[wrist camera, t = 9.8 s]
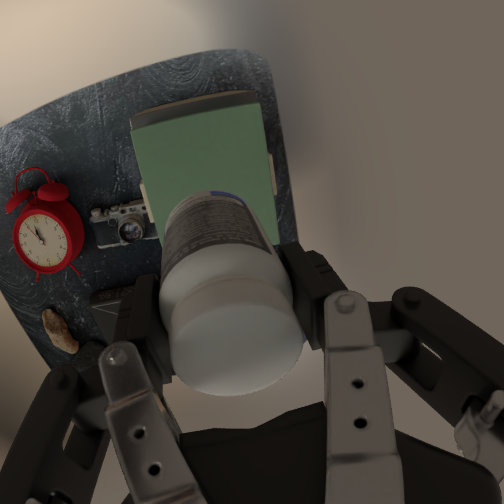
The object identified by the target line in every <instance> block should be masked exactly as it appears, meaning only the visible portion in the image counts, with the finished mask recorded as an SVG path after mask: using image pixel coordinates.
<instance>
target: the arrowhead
mask: <svg viewBox="0 0 504 504" xmlns="http://www.w3.org/2000/svg"><path fill="white" fill-rule="evenodd" d="M104 349H105V347H104V346H103V345H102V344H100V343H97V342H95V341H90V342H87V343H86V344H85V345H84V346H83V347H82V348H81V349H80V350H79V351H78V352H77V354H76V355H75V356H74V358H73V360H72V361H71V363H70V364H69V365H72V366H73V367H75V368H85V367H94V366H96V365H97V364H98V358H99V356H100V354H101V352H102V351H103V350H104Z"/></svg>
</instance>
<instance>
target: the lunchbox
mask: <svg viewBox="0 0 504 504" xmlns="http://www.w3.org/2000/svg"><path fill="white" fill-rule="evenodd" d="M130 133H131V137H132V142H133V146H134V150H135V154H136V158H137V161H138V165H139V169H140V173H141V177H142V180H141V183H140V188H141V191H142V195H143V198H144V202H145V205H146V209H147V212H148V216H149V219H150V222H151V223H153V222H154V223H155V226H156V229H157V232H158V236H159V239H160V242H161V245H162V248H163V241H164V231H165V226H166V222H167V220H168V217H169V215H170V213H171V212H172V211H173V209H174V208H175V207H176V206H177V205H178V204H179V203H180V202H181V201H182V200H183V199H185V198H186V197H188V196H190V195H191V194H193V193H196V192H199V191H203V190H212V189H215V190H224V191H227V192H230V193H233V194H235V195H237V196H239V197H240V198H241V199H243V200H244V201H245V202H246V203H247V204H248V205H249V206H250V207H251V209H252V210H253V212H254V213H255V214H256V216H257V218H258V220H259V222H260V224H261V226H262V227H263V229H264V231H265V233H266V235H267V237H268V239H269V241H270V243H271V244H272V245H276V244H280V241H279V233H278V225H277V217H276V209H275V202H274V195H277V189H276V181H275V174H274V167H273V159H272V155H271V154H270V153H269V152H268V151H267V144H266V137H265V131H264V124H263V117H262V111H261V104H260V103H259V102H254V103H248V104H242V105H236V106H230V107H224V108H219V109H214V110H209V111H204V112H199V113H195V114H190V115H185V116H181V117H177V118H173V119H168V120H164V121H160V122H157V123H153V124H149V125H145V126H141V127H138V128H134V129H132V130H131V131H130Z"/></svg>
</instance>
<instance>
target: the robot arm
mask: <svg viewBox="0 0 504 504" xmlns="http://www.w3.org/2000/svg"><path fill="white" fill-rule="evenodd" d="M278 251H279V259H280V261H281V263H282V264H283V266H284V267H285V269H286V271H287V273H288V274H289V278H290V281H291V285H292V290H293V305H292V308H293V310H294V312H295V314H296V316H297V318H298V321H299V323H300V325H301V327H302V329H303V331H304V333H305V335H306V338H307V340H308V342H309V344H310V346H311V348H312V350H317V349H320V348H321V349H322V351H323V352H324V403H323V401H321V402H318V403H315V404H311V405H308V406H305V407H301V408H298V409H294V410H291V411H288V412H285V413H284V414H282V415H280V416H278V417H276V418H274V419H272V420H270V421H268V422H266V423H264V424H262V425H260V426H257V427H255V428H251V429H225V428H212V429H207V430H200V431H195V432H188V433H182V431H181V429H180V427H179V426H178V423H177V422H176V419H175V417H174V415H173V413H172V411H171V410H170V407H169V405H168V403H167V401H166V399H165V397H164V396H163V384H168V383H172V374H171V360H170V349H169V338H168V332H167V330H166V328H165V326H164V324H163V322H162V319H161V316H160V310H159V290H160V282H159V279H158V277H157V275H156V273H153V274H148V275H144V276H140V277H137V279H136V284H135V289H134V291H131V292H127V293H126V295H125V296H124V297H123V299H122V300H121V302H120V307H119V312H118V316H117V319H118V320H117V321H116V326H115V331H114V336H113V342H112V344H111V345H109V346H107V347H106V348H105V349H104V350H103V351H102V352H101V354H100V356H99V358H98V364H97V365H96V366H94V367H91V368H89V369H87V370H84V371H82V372H80V373H78V371H77V370H76V369H75V367H73V366H72V365H67V364H65V365H60V366H58V367H56V368H54V369H53V370H51V371H50V372H49V373H48V375H47V376H46V378H45V379H44V381H43V383H42V385H41V387H40V389H39V391H38V392H37V394H36V396H35V398H34V400H33V402H32V404H31V406H30V408H29V410H28V412H27V414H26V416H25V418H24V420H23V422H22V424H21V426H20V428H19V431H18V433H17V435H16V437H15V439H14V441H13V443H12V446H11V448H10V450H9V452H8V455H7V457H6V459H5V462H4V464H3V466H2V469H1V471H0V504H90V502H91V499H92V495H93V492H94V489H95V486H96V483H97V479H98V476H99V473H100V470H101V467H102V463H103V460H104V457H105V454H106V451H107V448H108V445H109V442H110V439H112V442H113V445H114V448H115V451H116V455H117V458H118V460H119V463H120V466H121V469H122V472H123V474H124V477H125V480H126V483H127V485H128V488H129V490H130V493H129V494H128V495H127V497H126V498H125V499H124V501H123V502H122V503H121V504H502V503H501V502H502V496H501V490H500V487H499V483H500V482H501V481H502V480H503V478H504V345H503V344H502V343H500V342H499V341H497V340H496V339H495V338H493V337H492V336H490V335H489V334H488V333H486V332H485V331H483V330H482V329H481V328H479V327H478V326H476V325H475V324H473V323H472V322H471V321H469V320H468V319H466V318H465V317H463V316H462V315H461V314H459V313H458V312H456V311H455V310H453V309H452V308H450V307H449V306H447V305H446V304H444V303H443V302H441V301H440V300H438V299H437V298H435V297H434V296H432V295H431V294H429V293H428V292H426V291H424V290H423V289H420V288H417V287H403V288H400V289H398V290H396V291H395V292H394V294H393V296H392V301H384V302H368V301H367V300H366V298H365V297H364V296H363V295H361V294H360V293H358V292H355V291H349V290H348V289H347V287H346V286H345V284H344V283H343V282H342V280H341V279H340V278H339V276H338V275H337V274H336V272H335V271H333V268H332V267H331V266H330V265H329V264H328V262H327V260H326V259H325V258H324V256H323V255H321V254H319V253H317V252H315V251H314V250H312V251H307V252H305V251H304V250H303V248H302V247H301V245H300V244H299V242H298V241H294V242H290V243H286V244H281V245H279V246H278ZM422 343H424V344H425V345H427V346H428V347H429V348H430V349H432V350H433V351H434V352H435V353H437V354H438V355H439V356H440V357H441V359H442V360H441V359H439V358H438V357H437V356H436V355H435V354H433V353H432V352H431V351H429V350H428V349H427V348H426V347H424V346H423V345H422ZM385 365H386V366H387V367H388V368H389V369H391V370H392V371H393V372H394V373H395V374H396V375H397V376H398V377H399V378H400V379H401V380H403V381H404V382H405V383H406V384H407V385H408V386H409V387H410V388H411V389H412V390H413V391H415V392H416V393H417V394H418V395H419V396H420V397H421V398H422V399H423V400H424V401H426V402H427V403H428V404H429V405H430V406H431V407H432V408H433V409H434V410H436V411H437V412H438V413H439V414H440V415H441V416H442V417H443V418H444V419H445V420H446V421H447V422H449V423H450V424H451V425H452V426H453V427H454V428H455V430H454V437H455V441H456V443H457V448H458V450H459V451H461V452H463V454H464V457H461V456H458V455H456V454H453V453H450V452H448V451H445V450H443V449H440V448H438V447H435V446H433V445H431V444H428V443H426V442H423V441H421V440H419V439H416V438H414V437H412V436H409V435H407V434H405V433H403V432H400V431H398V430H396V429H394V423H393V415H392V408H391V401H390V394H389V388H388V381H387V375H386V369H385ZM71 421H72V422H73V423H74V427H73V429H72V431H71V434H70V436H69V439H68V441H67V444H66V446H65V449H64V451H63V447H62V444H63V439H64V437H65V434H66V432H67V429H68V427H69V425H70V422H71Z"/></svg>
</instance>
